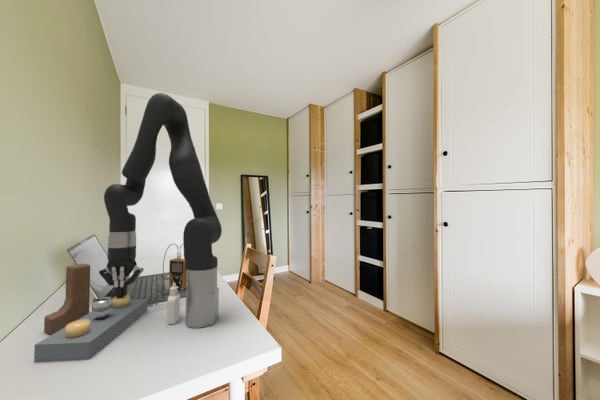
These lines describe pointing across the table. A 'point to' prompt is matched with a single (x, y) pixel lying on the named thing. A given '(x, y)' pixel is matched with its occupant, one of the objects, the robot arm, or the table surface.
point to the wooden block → (71, 299)
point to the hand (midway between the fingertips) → (121, 297)
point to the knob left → (77, 328)
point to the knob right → (121, 302)
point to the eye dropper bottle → (173, 305)
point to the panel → (90, 334)
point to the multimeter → (177, 271)
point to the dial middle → (102, 306)
